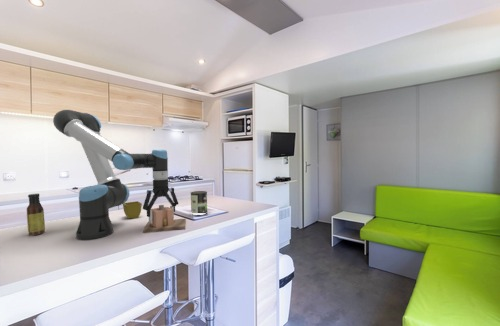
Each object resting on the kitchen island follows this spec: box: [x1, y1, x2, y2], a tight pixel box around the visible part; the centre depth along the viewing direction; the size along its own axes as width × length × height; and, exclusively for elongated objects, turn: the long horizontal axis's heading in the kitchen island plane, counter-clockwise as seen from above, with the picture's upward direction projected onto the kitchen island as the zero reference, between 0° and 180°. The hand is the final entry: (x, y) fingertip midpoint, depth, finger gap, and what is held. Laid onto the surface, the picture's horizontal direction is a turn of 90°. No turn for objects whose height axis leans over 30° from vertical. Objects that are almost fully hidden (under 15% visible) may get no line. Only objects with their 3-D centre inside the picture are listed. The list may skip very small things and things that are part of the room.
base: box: [142, 204, 187, 234], centre depth 125 cm, size 20×15×12 cm
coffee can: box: [190, 190, 208, 213], centre depth 151 cm, size 10×10×14 cm
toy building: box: [150, 206, 174, 228], centre depth 125 cm, size 9×9×8 cm
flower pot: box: [122, 201, 143, 220], centre depth 145 cm, size 9×9×9 cm
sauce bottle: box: [26, 193, 46, 236], centre depth 116 cm, size 7×6×20 cm
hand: (161, 220), depth 125 cm, fingers open, 11 cm apart
